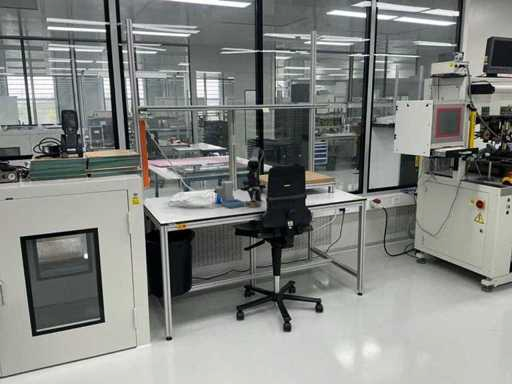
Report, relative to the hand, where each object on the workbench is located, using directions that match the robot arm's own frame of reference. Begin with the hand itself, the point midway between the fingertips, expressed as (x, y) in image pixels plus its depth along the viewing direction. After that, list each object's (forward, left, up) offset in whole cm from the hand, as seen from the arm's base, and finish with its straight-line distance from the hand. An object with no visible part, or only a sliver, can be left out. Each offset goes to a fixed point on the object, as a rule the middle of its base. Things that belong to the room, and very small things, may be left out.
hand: (253, 199), depth 301 cm
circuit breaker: (+11, -22, -5) cm, 26 cm away
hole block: (0, 0, -5) cm, 5 cm away
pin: (0, 0, -5) cm, 5 cm away
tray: (+12, -9, -5) cm, 15 cm away
